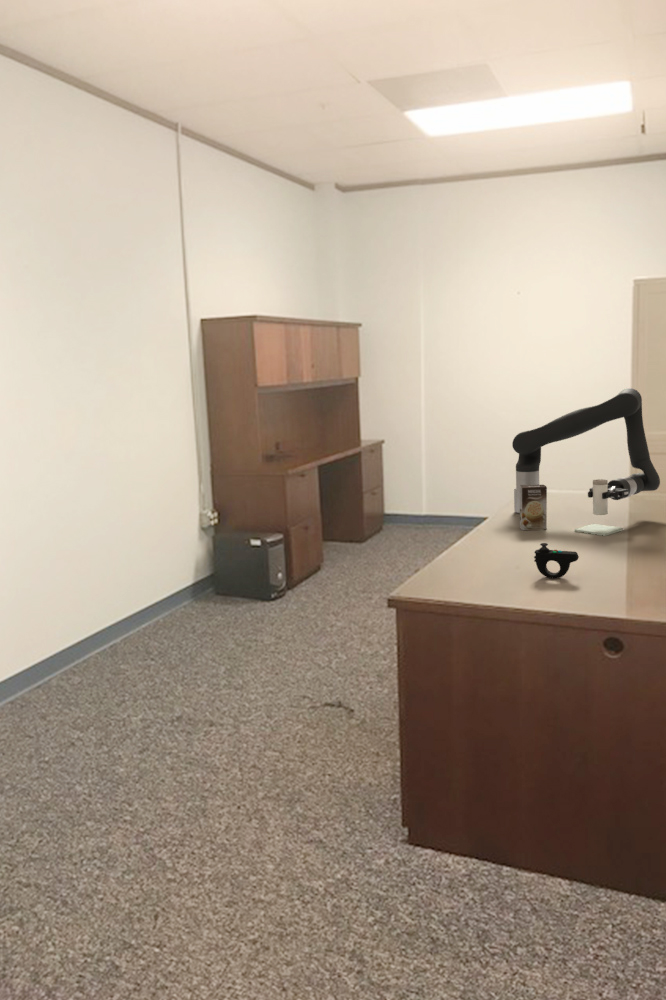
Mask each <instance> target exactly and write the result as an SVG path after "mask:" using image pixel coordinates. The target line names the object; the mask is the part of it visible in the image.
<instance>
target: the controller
mask: <svg viewBox="0 0 666 1000" xmlns="http://www.w3.org/2000/svg"><path fill="white" fill-rule="evenodd" d="M539 546H541V547H540V548H539V549H535V551H534V552H533V553H534V554H535V555H534V556H533V558H534V560H533V561H534V562H535V564H536V568H537V570H538V571H539V573H540V574H542V576H543V577H545V578H548V579H552V578H553V579H555V580H556V579H560V578H562V577H564V576H565V575H566V574H567V573H568V571H569V569H570V565H571V563H574V562H577V561H578V559H579V557H580V556H579V554H578V552H577V551H571V550H570V551H569V550H557V549H550V548H548V547H547V546H548V543H547V542H542V543H540V545H539ZM551 561H554V562H555V563H557V564H558V566H559V570H558V571H557V572H552V571H549V568H548V567H547V564H548V562H551Z"/></svg>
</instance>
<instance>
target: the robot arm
mask: <svg viewBox="0 0 666 1000" xmlns="http://www.w3.org/2000/svg"><path fill="white" fill-rule="evenodd" d="M642 401H643V399H642V395H641V393H640V392H639V391H638V390H637V389H635V388H632V387H631V388H630V387H629V388H627V387H626V388H624V389H622V390H621V391H619V393H618V394H616V395H615V396H613V397H612V398H610V399H608V400H605V401H604V402H602V403H599V404H597V405H592V406H587V407H583V408H579V409H576V410H573V411H570V412H567V413H566V414H564V415H561V416H560V417H558V418H554V420H552V421H549V422H548V423H546V424H545V425H542V426H540V427H537V428H533V429H530V430H525V431H521V432H519V433H517V434H516V435H515V436H514V438H513V440H512V449H513V450H514V452H516V453H517V454H518V459H517V463H516V464H515V488H514V490H513V499H514V500H513V501H514V503H513V504H514V509H513V511H514V513H517V514H520V485H540V465H541V462H542V461H541V460H542V447H544V446H546V445H548V444H551V443H556V442H560V441H564V440H567V439H571V438H573V437H576V436H579V435H582V434H584V433H587V432H589V431H591V430H593V429H596V428H597V427H599V426H601V425H603V424H606V423H608V422H611V421H616V420H619V419H622V418H624V423H625V428H626V442H627V450H628V457H629V460H630V465H631V467H632V468H634V469H638V470H640V471H642V472H637V473H633V474H631V475H630V476H625V477H620V478H615V479H612V480H610V481H608V491H607V492H604V493H602V499H607V498H608V499H611V500H613V501H619V500H623V499H626V498H629V497H631V496H634V495H637V494H640V493H641V492H653V491H657V490H658V489H659V487H660V485H661V479H660V476H659V473H658V472H657V469H656V468H655V466H654V464H653V463H652V460H651V456H650V451H649V447H648V442H647V437H646V432H645V428H644V419H643V418H644V417H643V402H642ZM587 498H588V499H589V498H590V499H591V498H593V486H592V487H591V488H590V487H589V491H587Z"/></svg>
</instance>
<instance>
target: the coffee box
mask: <svg viewBox="0 0 666 1000" xmlns="http://www.w3.org/2000/svg"><path fill="white" fill-rule="evenodd" d="M547 489H548V486H547V485H545V484H539V485H520V513H519V528H520V529H521V531H543V530H542V529H546V530H547V528H548V527H547V520H548V519H547V517H548V516H547V515H548V514H547V510H548V507H547V505H548V504H547V503H548V502H547V497H548V495H547V494H548V493H547V491H548V490H547ZM540 529H541V530H540Z"/></svg>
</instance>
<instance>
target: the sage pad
mask: <svg viewBox="0 0 666 1000" xmlns="http://www.w3.org/2000/svg"><path fill="white" fill-rule="evenodd" d="M623 530H624V527H620V526H614V525H613V526H612V525H603V524H598V523H591V524H588V525H585V526H581V527H579V528H575V529H574V532H575V531H577V532H576V533H581V532H584V533H583V534H588V533H591V534H590V535H595V534H597V536H602V535H603V537H606V536H608V535H609V536H610V535H613V534H615V533H619V532H622V531H623Z"/></svg>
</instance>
